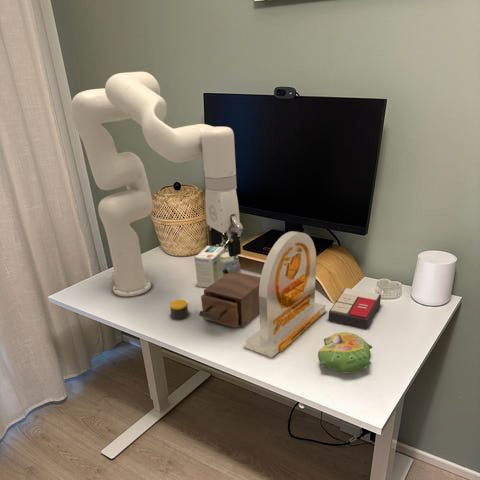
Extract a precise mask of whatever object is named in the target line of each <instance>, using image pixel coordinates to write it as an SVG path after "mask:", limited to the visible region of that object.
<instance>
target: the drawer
mask: <svg viewBox="0 0 480 480" xmlns="http://www.w3.org/2000/svg"><path fill="white" fill-rule="evenodd" d="M200 299H201V310H200V311H199V312H198V315H199V317H201V318H203V319H204V320H206V321H210V322H214V323H217V324H221V325H223V326H228V327H231V328H236V329H237V328H239V327H238V322H240V313H239V301H237V300H233V299H229V298H225V297H221V296H217V295H213V294H208V296H207V295H204V294H202V295H201V296H200Z"/></svg>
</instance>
